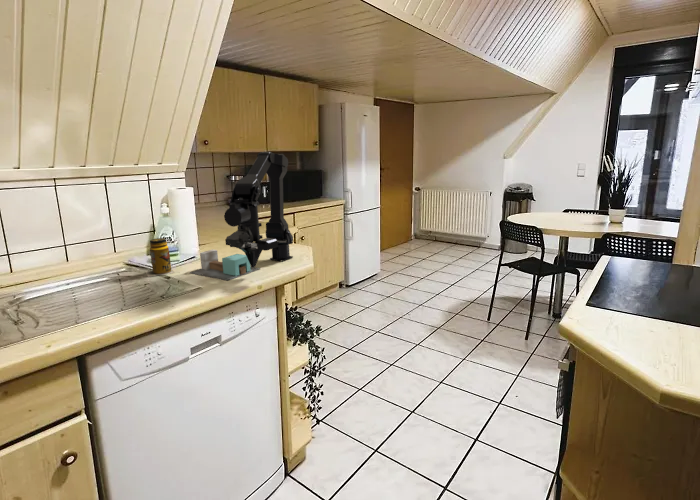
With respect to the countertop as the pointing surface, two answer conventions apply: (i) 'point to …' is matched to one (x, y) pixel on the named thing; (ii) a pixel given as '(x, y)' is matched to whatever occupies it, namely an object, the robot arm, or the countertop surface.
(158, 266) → the condiment
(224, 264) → the block
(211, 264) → the rail track
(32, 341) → the countertop surface
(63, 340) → the countertop surface
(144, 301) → the countertop surface
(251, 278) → the countertop surface
